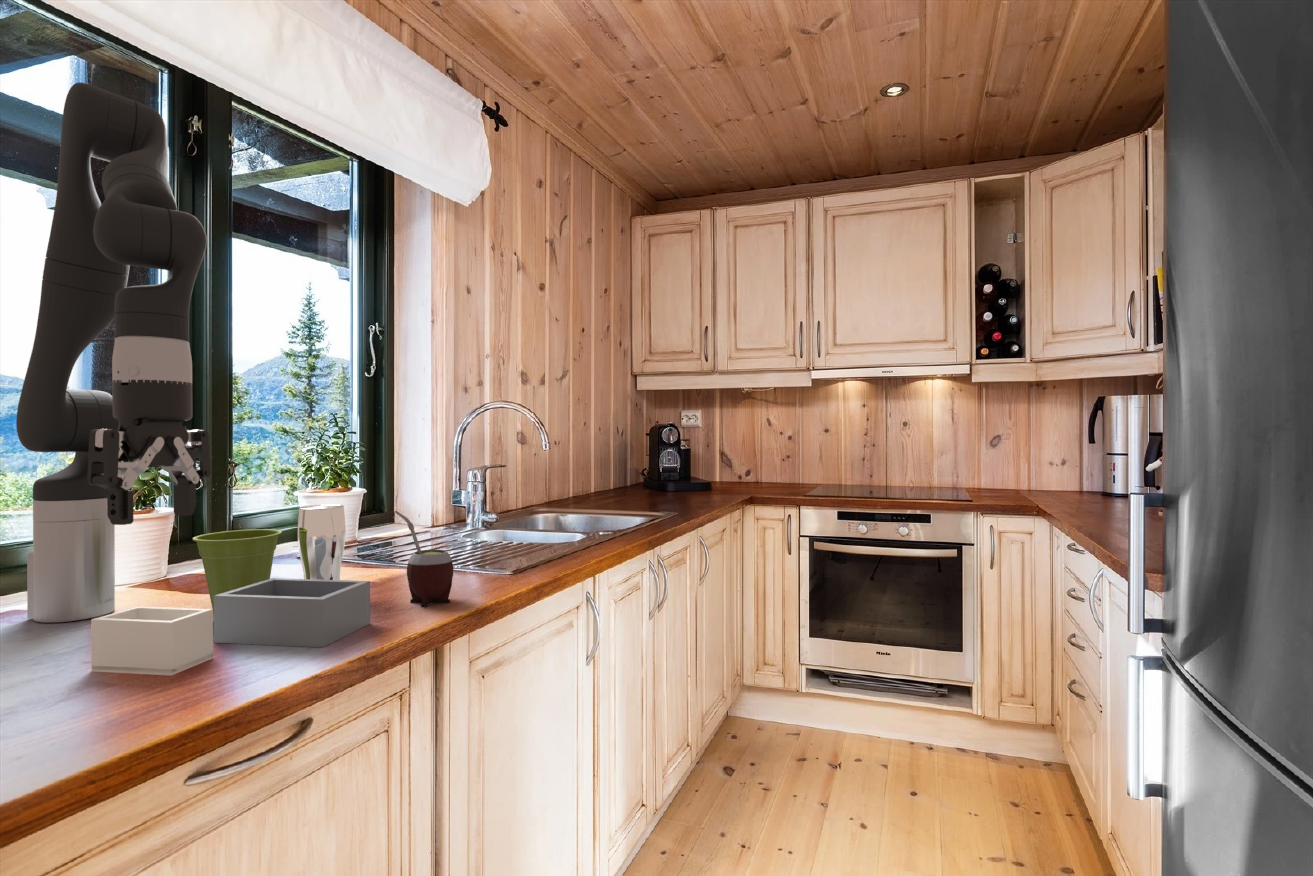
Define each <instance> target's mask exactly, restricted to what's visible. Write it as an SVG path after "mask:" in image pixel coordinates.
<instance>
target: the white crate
mask: <svg viewBox="0 0 1313 876" xmlns="http://www.w3.org/2000/svg"><path fill="white" fill-rule="evenodd" d="M90 619H91V620H90V621H91V623H90V624H91V625H90V626H91V631H90V632H91V633H90V634H91V635H90V636H91V637H90V638H91V639H90V640H91V646H90V647H91V672H95V673H96V672H97V673H115V674H135V675H137V674H138V675H156V676H157V675H158V676H174V675H176V674H179V673H181V672H184V671H185V670H188V669H191V668H193V667H195V666H197V665H200V664H203V663H205V662H208V661H210V660H213V659H214V610H213V608H192V607H191V608H188V607H185V608H184V607H165V606H163V607H162V606H161V607H160V606H133V607H132V608H128V609H127V608H126V609H124V610H120V611H116V612H112V613H108V614H105V615H101V616H97V617H94V618H90Z"/></svg>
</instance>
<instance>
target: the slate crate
mask: <svg viewBox="0 0 1313 876" xmlns="http://www.w3.org/2000/svg"><path fill="white" fill-rule="evenodd" d="M369 625H371V580H352V579H351V580H348V579H347V580H345V579H343V580H341V579H340V580H317V579H304V578H280V577H270V579H268V580H264V581H261V582H258V583H254V584H251V585H248V586H245V587H241V588H238V589H235V590H231V591H228V592H225V593H221V594H218V595H215V596H214V610H213V644H216V643H217V644H236V645H237V644H239V645H259V646H260V645H261V646H284V647H286V646H287V647H303V648H305V647H306V648H310V647H311V648H324V647H327V646H329V645H330V644H332V643H335V642H336V641H338V640H340V639H342V638H345V637H346V636H348V635H351V634H352V633H354V632H357V631H358V630H360V629H362V628H365V627H367V626H369Z"/></svg>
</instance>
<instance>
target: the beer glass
mask: <svg viewBox="0 0 1313 876" xmlns="http://www.w3.org/2000/svg"><path fill="white" fill-rule="evenodd" d="M298 511H299V512H298V519H297V522H298V523H297V544H298V552H299V556H300V557H299V558H300V561H301V567H302V572H303V574H302V575H303V579H317V580H341V569H342V563H343V557H344V552H345V551H344V550H345V543H346V533H347V532H346V530H347V529H346V516H345V515H346V514H345V506H344V505H343V504H312V505H304V506H300V507H299V508H298Z"/></svg>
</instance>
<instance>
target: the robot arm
mask: <svg viewBox="0 0 1313 876" xmlns="http://www.w3.org/2000/svg"><path fill="white" fill-rule="evenodd" d="M62 111H63V113H62V122H61V123H62V124H61V131H60V132H61V135H60V147H59V149H60V151H59V159H58V161H59V162H58V174H57V175H58V176H57V188H56V190H57V191H56V197H55V198H56V199H55V204H54V209H53V210H54V211H53V215H52V220H51V221H52V222H51V227H50V231H49V239H48V244H47V248H46V253H45V259H44V265H43V272H42V280H41V291H40V300H39V301H40V302H39V307H38V315H37V321H36V329H35V334H34V335H35V336H34V340H33V345H32V349H31V353H30V358H29V361H28V365H27V368H26V369H27V370H26V373H25V376H24V381H23V384H22V388H21V392H20V395H19V400H18V405H17V409H16V410H17V411H16V421H15V422H16V426H15V427H16V435H17V437H18V440H19V442H20V444H21V445H22V446H23V447H24V448H25V449H26V450H28V451H30V452H36V453H75V454H74V456H73V457H74V459H73V460H72V462H71V463H70V464H69V465H67V467H64V468H63V469H61V470H59V471H57V472H54V473H52V474H49V475H46V476H43V477H40V478H37V480H35V481H34V483H33V486H32V545H33V546H32V548H33V549H32V550H33V551H30V552H28V553H27V556H26V562H27V563H26V565H27V566H26V567H27V568H26V569H27V570H26V571H27V572H26V574H27V576H26V577H27V578H26V579H27V581H26V582H27V583H26V585H27V586H26V588H27V590H26V591H27V594H26V595H27V602H26V603H27V605H26V607H27V612H26V613H27V619H30V620H31V619H32V620H33V621H34V622H37V623H63V622H65V623H66V622H72V621H73V622H75V621H80V620H86V619H94V618H98V617H102V616H106V615H109V614H111V613H113V612H114V611H115V609H116V606H115V605H116V604H115V603H116V602H115V600H116V597H115V593H116V589H115V588H116V587H115V586H116V585H115V583H116V580H115V579H116V575H115V573H116V569H115V568H116V567H115V565H116V562H115V561H116V559H115V558H116V557H115V555H116V554H115V551H116V549H115V547H116V546H115V545H116V544H115V540H116V539H115V537H116V536H115V535H116V534H115V528H116V527H115V526H122V525H123V526H127V525H131V524H133V523H134V490H132V487H133V485H134V483H136V481H137V479H138V478H139V476H140V475H142V474H144V473H145V472H146V470H147V469H148V468H159V467H160V469H162V470H163V471H165V472H167V473H168V474H169V476H170V477H171V479H172V480H173V481H174V483H175V484H173V514H174V515H175V516H181V517H182V516H192V515H194V513H195V510H196V508H197V484H198V483H199V481H200V480H202V479H204V478H206V479H207V478H210V476H211V473H212V472H211V456H210V452H211V451H210V438H209V432H208V431H207V430H206V429H187V427H186V426H187V425H186V423H187V421H190V420H191V419H193V412H194V411H193V409H194V408H193V407H194V406H193V360H192V359H193V358H192V354H191V353H192V352H191V347H190V346H191V344H190V309H191V300H192V294H193V290H194V286H195V282H196V279H197V276H198V273H199V270H200V268H201V265H202V262H203V259H204V257H205V253H206V250H207V245H208V238H207V232H206V230H205V227H204V226H203V224H202V223H201V222H200V220H199V219H198V218H197V217H196V216H195V215H193V214H190V213H189V212H185V211H181V210H178V206H177V202H176V199H175V196H174V194H173V190H172V188H171V185H170V183H169V177H168V175H169V170H168V169H169V153H168V133H167V129H166V128H167V127H166V124H165V121H164V118H163V117H162V115H161V114H160V113H159V112H158V111H157V110H155V108H152V107H150V106H149V105H147V104H144V103H142V102H139V101H136V100H133V99H131V98H129V97H125V96H122V95H120V94H117V93H114V92H111V91H108V90H107V89H104V88H101V87H98V86H95V85H92V84H89V83H86V82H75V83H74V84H72V86H71V87H70V88H69V90H68V92H67V94H66V97H65V101H64V106H63V110H62ZM91 158H94V159H95V158H96V159H97V160H101V161H105V162H108V164H107V165H106V166H105V168H104V170H103V173H102V176H101V184H102V190H103V195H104V200H103V202H101V200H100V198H99V195H98V192H97V190H96V187H95V183H94V180H93V174H92V167H91ZM131 266H134V267H139V268H140V267H141V268H148V269H155V270H162V271H163V270H165V271H169V273H168V278H167V279H166V280H165V281H164V282H162V283H158V284H148V285H147V284H145V285H132V286H128V280H129V275H130V274H129V273H130V267H131ZM113 321H114V344H113V349H112V350H113V351H112V356H111V357H112V359H111V360H112V361H111V362H112V363H111V367H112V368H111V371H112V372H111V373H112V374H111V375H112V377H111V378H112V380H111V381H112V382H111V385H112V387H111V388H112V389H111V391H112V393H108V392H106V391H102V390H97V389H78V388H77V389H76V388H68V385H69V381H70V378H71V375H72V371H73V370H74V366H75V365H76V363H77V360H79V357H80V356H81V354H82V353H83V352H84V350H85V349H86V348H87V347H88V346H89V345H90V344H91V343H92V342H93V341H95V339H96V338H97V337H99V335H100V334H101V333H102V332H104V331H105V330H106V329H107V328H108V326H110V325H111V323H112V322H113ZM111 394H112V395H111ZM197 459H198V462H199V463H198V464H199V467H197ZM130 489H131V490H130Z"/></svg>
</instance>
